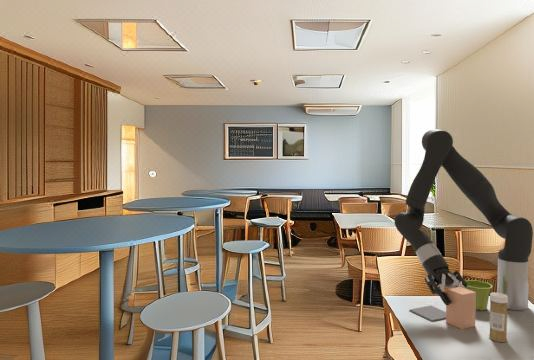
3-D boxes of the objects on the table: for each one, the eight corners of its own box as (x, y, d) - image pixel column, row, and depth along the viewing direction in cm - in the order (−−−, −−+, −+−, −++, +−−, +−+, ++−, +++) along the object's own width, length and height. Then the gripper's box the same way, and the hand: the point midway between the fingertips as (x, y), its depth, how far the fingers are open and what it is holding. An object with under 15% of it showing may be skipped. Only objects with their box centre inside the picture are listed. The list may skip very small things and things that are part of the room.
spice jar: (509, 340, 112) (511, 295, 111) (502, 344, 109) (503, 298, 109) (493, 334, 116) (494, 290, 115) (485, 338, 113) (486, 293, 113)
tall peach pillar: (459, 319, 127) (459, 286, 127) (475, 326, 121) (476, 292, 121) (445, 321, 125) (446, 288, 124) (461, 329, 119) (462, 294, 119)
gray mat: (430, 306, 138) (430, 305, 138) (454, 316, 129) (454, 315, 129) (409, 310, 134) (409, 309, 134) (432, 321, 125) (432, 320, 125)
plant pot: (482, 314, 131) (482, 289, 131) (456, 305, 139) (457, 282, 139) (497, 309, 136) (498, 285, 135) (471, 301, 144) (472, 278, 144)
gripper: (422, 255, 128) (449, 300, 118) (452, 252, 134) (481, 294, 124) (410, 267, 133) (435, 310, 123) (440, 263, 139) (466, 304, 129)
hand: (458, 302), depth 123 cm, fingers open, 8 cm apart
